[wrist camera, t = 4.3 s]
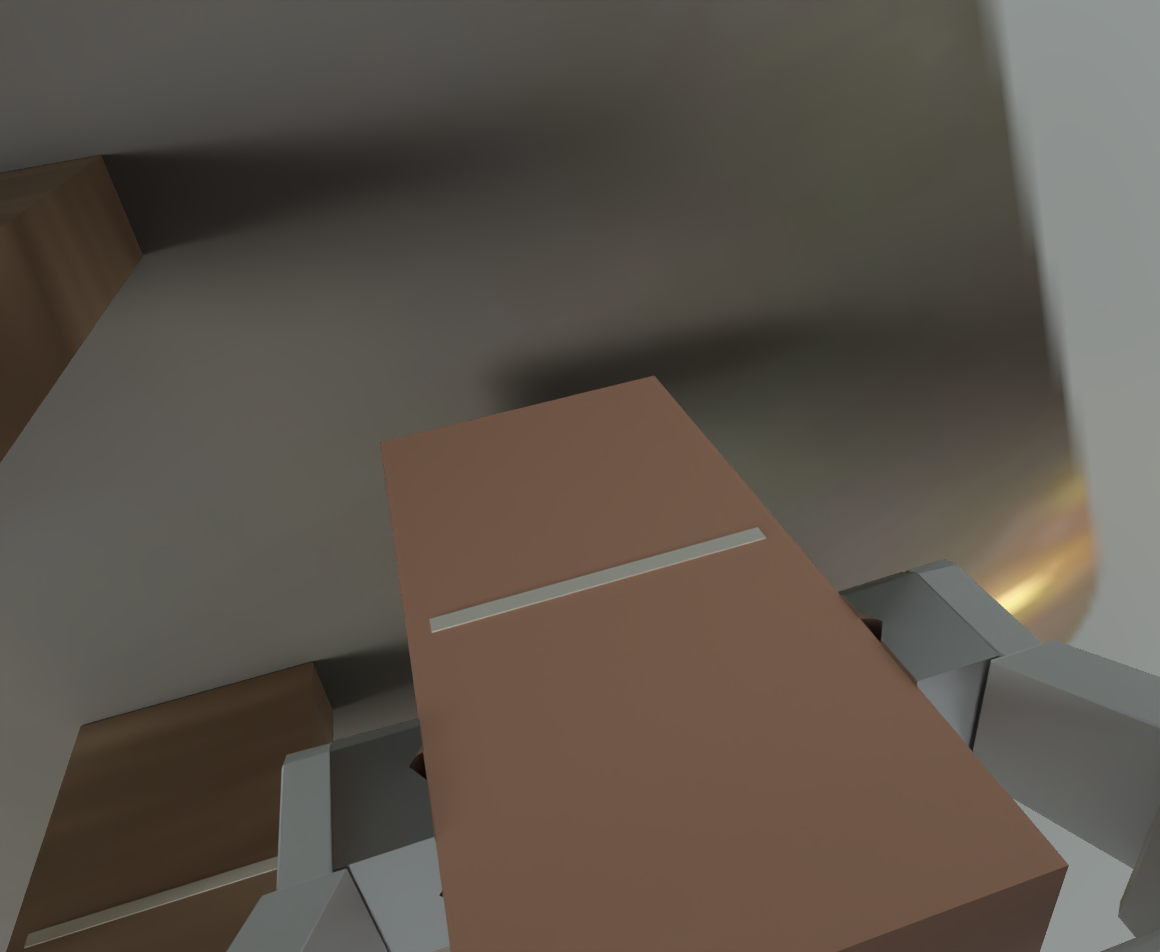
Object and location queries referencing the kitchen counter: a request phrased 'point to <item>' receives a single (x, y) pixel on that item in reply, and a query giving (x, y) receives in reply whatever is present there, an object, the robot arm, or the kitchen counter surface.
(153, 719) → the domino
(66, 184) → the domino
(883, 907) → the domino
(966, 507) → the kitchen counter surface
